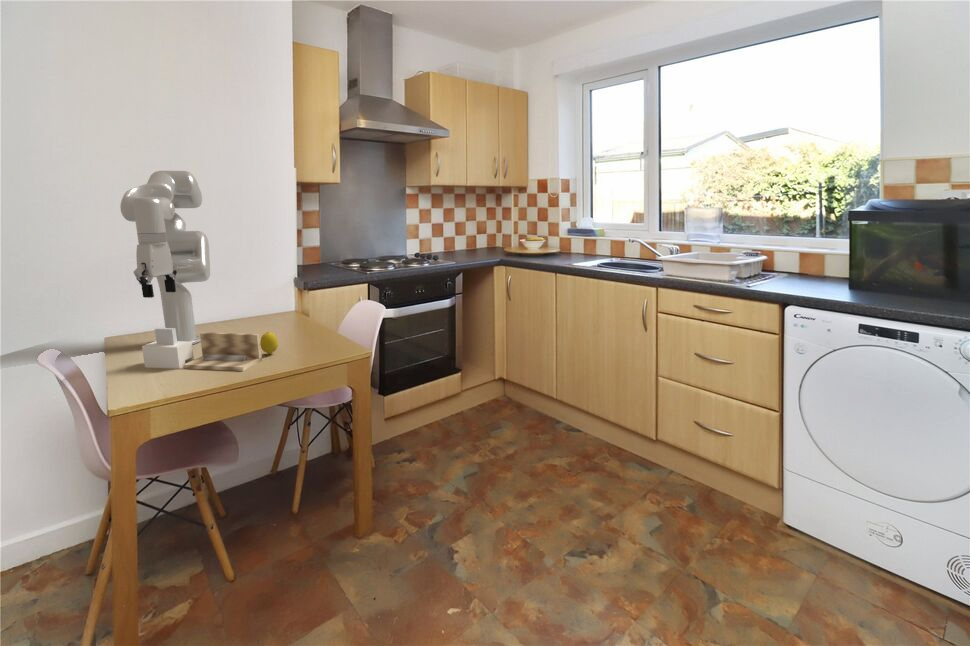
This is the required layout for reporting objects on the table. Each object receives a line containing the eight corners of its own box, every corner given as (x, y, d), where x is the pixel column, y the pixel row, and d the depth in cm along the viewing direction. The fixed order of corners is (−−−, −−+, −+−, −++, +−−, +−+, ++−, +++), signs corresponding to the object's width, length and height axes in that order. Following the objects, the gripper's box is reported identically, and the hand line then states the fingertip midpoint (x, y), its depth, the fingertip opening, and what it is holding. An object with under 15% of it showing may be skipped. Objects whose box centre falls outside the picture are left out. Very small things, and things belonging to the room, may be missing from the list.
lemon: (272, 351, 189) (270, 329, 187) (282, 353, 186) (280, 331, 184) (258, 355, 185) (255, 332, 183) (268, 357, 182) (265, 334, 180)
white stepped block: (145, 367, 172) (139, 330, 169) (160, 360, 179) (155, 325, 176) (179, 369, 170) (174, 331, 168) (194, 362, 177) (189, 326, 174)
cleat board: (183, 368, 171) (180, 340, 169) (205, 358, 181) (202, 332, 179) (243, 371, 168) (240, 342, 166) (262, 360, 179) (259, 334, 177)
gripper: (161, 237, 174) (168, 290, 178) (119, 241, 157) (127, 299, 161) (183, 237, 173) (189, 290, 177) (142, 241, 156) (150, 299, 160)
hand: (160, 294), depth 169 cm, fingers open, 9 cm apart
